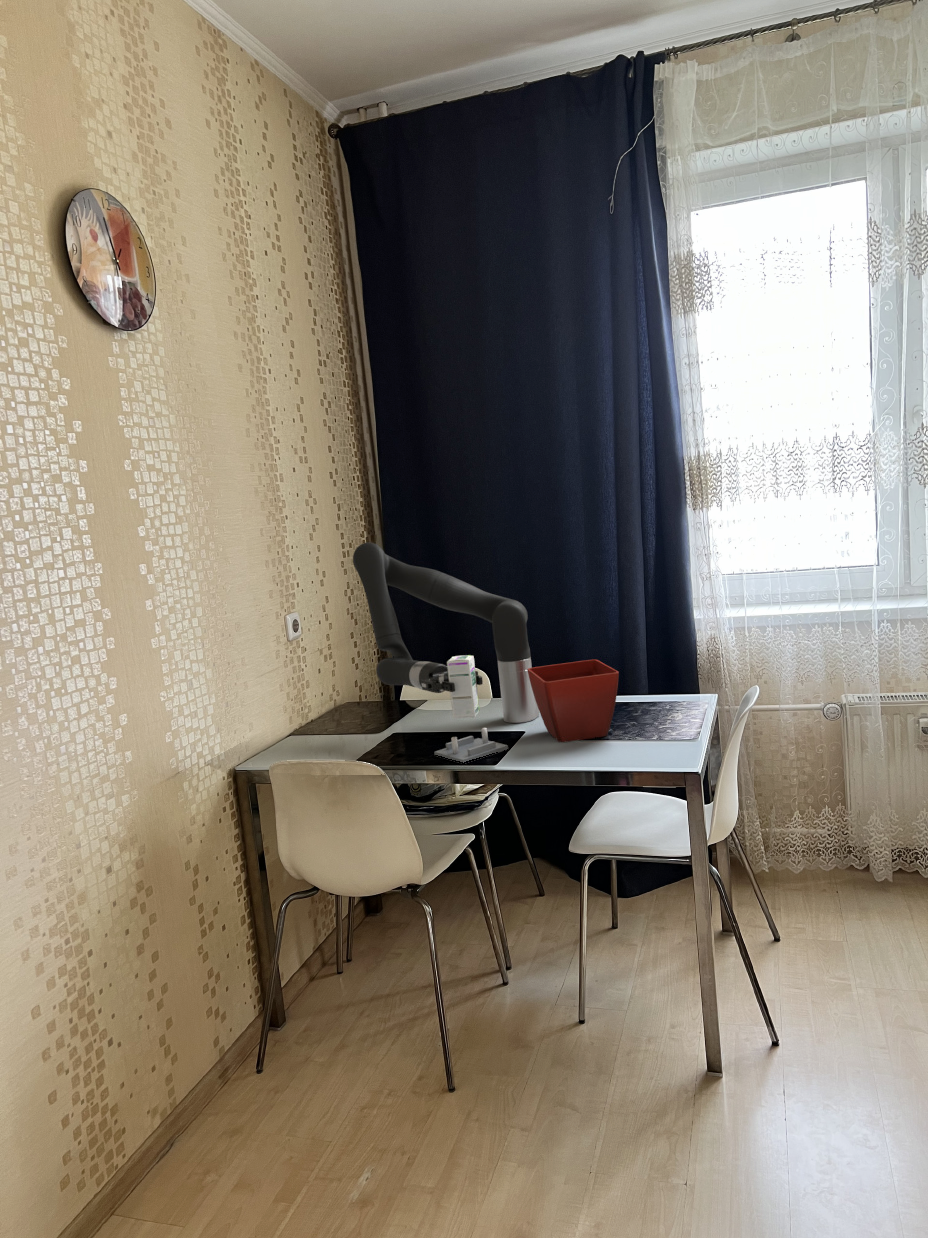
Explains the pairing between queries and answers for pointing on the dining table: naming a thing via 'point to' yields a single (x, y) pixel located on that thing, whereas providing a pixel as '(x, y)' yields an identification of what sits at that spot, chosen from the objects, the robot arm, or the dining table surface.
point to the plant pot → (575, 698)
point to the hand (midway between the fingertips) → (467, 684)
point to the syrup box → (463, 686)
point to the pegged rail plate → (470, 748)
